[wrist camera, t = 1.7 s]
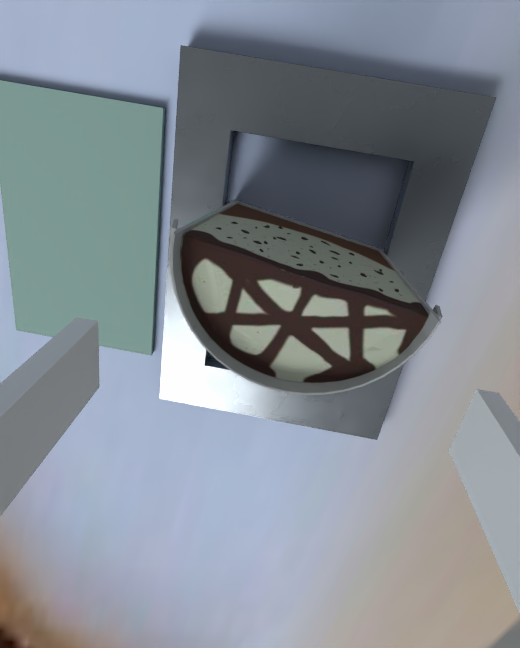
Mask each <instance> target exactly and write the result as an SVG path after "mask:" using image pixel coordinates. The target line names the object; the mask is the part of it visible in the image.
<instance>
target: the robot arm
mask: <svg viewBox="0 0 520 648" xmlns="http://www.w3.org/2000/svg"><path fill="white" fill-rule="evenodd" d="M98 388H99V338H98V321H95V320H89V319H84V318H78V317H76V318H75V319H74V320H73V321H72V322H70V323H69V324H68V325H67V326H66V327H65V328H64V329H62V330H61V331H60V332H59V333H58V334H57V335H56V336H54V337H53V338H52V339H51V340H50V341H49V342H48V343H46V344H45V345H44V346H43V347H42V348H41V349H39V350H38V351H37V352H36V353H35V354H34V355H33V356H31V357H30V358H29V359H28V360H27V361H26V362H25V363H23V364H22V365H21V366H20V367H19V368H18V369H17V370H15V371H14V372H13V373H12V374H11V375H10V376H8V377H7V378H6V379H5V380H4V381H3V382H2V383H0V516H1V515H2V514H3V512H4V511H5V510H6V508H7V507H8V506H9V504H10V503H11V502H12V500H13V499H14V498H15V497H16V495H17V494H18V493H19V491H20V490H21V489H22V487H23V486H24V485H25V483H26V482H27V481H28V480H29V478H30V477H31V476H32V474H33V473H34V472H35V470H36V469H37V468H38V466H39V465H40V464H41V463H42V461H43V460H44V459H45V457H46V456H47V455H48V453H49V452H50V451H51V449H52V448H53V447H54V446H55V444H56V443H57V442H58V440H59V439H60V438H61V436H62V435H63V434H64V432H65V431H66V430H67V429H68V427H69V426H70V425H71V423H72V422H73V421H74V419H75V418H76V417H77V415H78V414H79V413H80V412H81V410H82V409H83V408H84V406H85V405H86V404H87V402H88V401H89V400H90V398H91V397H92V396H93V395H94V393H95V392H96V391H97V389H98ZM449 452H450V455H451V457H452V459H453V462H454V464H455V466H456V468H457V471H458V473H459V475H460V478H461V480H462V482H463V485H464V487H465V489H466V491H467V494H468V496H469V498H470V501H471V503H472V505H473V508H474V510H475V512H476V515H477V517H478V519H479V521H480V524H481V526H482V528H483V531H484V533H485V535H486V538H487V540H488V542H489V544H490V547H491V549H492V551H493V554H494V556H495V558H496V561H497V563H498V565H499V567H500V570H501V572H502V574H503V577H504V579H505V581H506V584H507V586H508V588H509V591H510V593H511V595H512V597H513V600H514V602H515V604H516V607H517V609H518V611H519V614H520V422H519V421H518V419H517V418H516V416H515V415H514V413H513V412H512V411H511V409H510V408H509V406H508V405H507V404H506V402H505V401H504V399H503V398H502V397H501V395H500V394H499V393H496V392H491V391H485V390H480V389H476V391H475V393H474V396H473V398H472V400H471V402H470V404H469V407H468V409H467V411H466V413H465V416H464V418H463V420H462V422H461V424H460V427H459V429H458V431H457V433H456V435H455V438H454V440H453V442H452V444H451V446H450V449H449Z"/></svg>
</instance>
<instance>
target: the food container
mask: <svg viewBox="0 0 520 648" xmlns="http://www.w3.org/2000/svg"><path fill="white" fill-rule="evenodd" d="M177 226H178V219H174V222H173V225H172V228H171V236H170V244H169V268H170V274H171V280H172V285H173V290H174V293H175V296H176V299H177V301H178V304H179V307H180V309H181V312H182V314H183V316H184V318H185V320H186V322H187V324H188V326H189V327H190V329H191V331H192V332H193V334H194V335H195V336H196V338H197V339H198V340H199V342H200V343H201V344H202V346H203V347H204V348H205V349H206V350H207V351H208V352H209V353H210V354H211V355H212V356H213V357H214V358H215V359H216V360H217V361H219V362H220V363H221V364H223V365H224V366H225V367H227V368H228V369H229V370H231V371H232V372H234V373H235V374H237V375H239V376H241V377H243V378H244V379H246V380H248V381H250V382H253V383H255V384H258V385H260V386H263V387H265V388H269V389H273V390H277V391H281V392H285V393H293V394H302V395H325V394H331V393H338V392H345V391H348V390H351V389H355V388H358V387H362V386H365V385H367V384H369V383H371V382H374V381H376V380H378V379H380V378H383V377H384V376H386V375H387V374H389V373H391V372H392V371H394V370H396V369H397V368H399V367H400V366H401V365H403V364H404V363H405V362H406V361H407V360H409V359H410V358H411V357H412V356H413V355H415V354H416V353H417V352H418V351H419V349H420V348H421V347H422V346H423V345H424V344H425V343H426V342H427V341H428V340H429V338H430V337H431V336H432V334H433V333H434V331H435V330H436V328H437V327H438V325H439V324H440V322H441V321H440V320H441V318H442V314H441V310H440V307H439V306H437V305H436V306H435V307H434V309H433V310H432V309H431V308H430V306H429V305H428V304H427V303H426V302H425V300H424V299H423V298H422V297H421V296H420V294H419V293H418V292H417V291H416V290H415V288H414V287H413V286H412V285H411V284H410V282H409V281H408V280H407V279H406V278H405V277H404V275H403V274H402V273H401V272H400V271H399V269H398V268H397V267H396V266H395V265H394V263H393V262H392V261H391V260H390V259H389V257H388V256H387V255H386V254H385V253H384V251H383V250H382V249H381V248H378V247H375V246H372V245H369V244H366V243H363V242H360V241H357V240H354V239H351V238H348V237H345V236H342V235H339V234H336V233H333V232H330V231H327V230H324V229H321V228H318V227H315V226H312V225H309V224H306V223H303V222H300V221H297V220H294V219H291V218H288V217H285V216H282V215H279V214H276V213H273V212H270V211H267V210H264V209H261V208H258V207H255V206H253V205H250V204H247V203H244V202H241V201H238V200H234V201H232V202H230V203H228V204H226V205H225V206H223V207H221V208H219V209H217V210H215V211H213V212H211V213H209V214H207V215H205V216H203V217H201V218H199V219H197V220H195V221H193V222H191V223H189V224H187V225H185V226H183V227H181V228H177Z"/></svg>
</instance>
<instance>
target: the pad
mask: <svg viewBox="0 0 520 648" xmlns="http://www.w3.org/2000/svg"><path fill="white" fill-rule="evenodd" d="M164 125H165V108H161V107H155V106H149V105H144V104H138V103H132V102H126V101H120V100H114V99H108V98H102V97H96V96H91V95H85V94H79V93H73V92H67V91H61V90H55V89H49V88H44V87H38V86H32V85H26V84H20V83H14V82H8V81H2V80H0V185H1V194H2V203H3V213H4V222H5V231H6V240H7V249H8V259H9V268H10V277H11V286H12V295H13V305H14V314H15V323H16V330H18V331H24V332H29V333H34V334H40V335H45V336H50V337H54V336H56V335H57V334H58V333H59V332H60V331H61V330H62V329H64V328H65V327H66V326H67V325H68V324H69V323H70V322H72V321H73V320H74V319H75V318H76V317H78V318H84V319H89V320H95V321H98V338H99V346H104V347H109V348H115V349H120V350H125V351H131V352H136V353H141V354H147V355H152V354H153V347H154V327H155V307H156V287H157V266H158V246H159V226H160V206H161V186H162V165H163V145H164Z"/></svg>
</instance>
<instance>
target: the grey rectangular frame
mask: <svg viewBox="0 0 520 648" xmlns="http://www.w3.org/2000/svg"><path fill="white" fill-rule="evenodd" d="M495 100H496V97H490V96H484V95H478V94H472V93H466V92H460V91H454V90H448V89H442V88H436V87H430V86H424V85H418V84H412V83H406V82H400V81H394V80H388V79H382V78H376V77H370V76H364V75H358V74H351V73H345V72H339V71H333V70H327V69H321V68H315V67H309V66H303V65H297V64H291V63H285V62H279V61H273V60H267V59H261V58H255V57H249V56H243V55H237V54H231V53H225V52H219V51H213V50H207V49H200V48H194V47H188V46H182V45H181V49H180V66H179V82H178V99H177V115H176V132H175V149H174V165H173V182H172V199H171V215H170V232H169V244H170V236H171V228H172V225H173V222H174V219H178V226H177V228H181V227H183V226H185V225H187V224H189V223H191V222H193V221H195V220H197V219H199V218H201V217H203V216H205V215H207V214H209V213H211V212H213V211H215V210H217V209H219V208H221V207H223V206H225V204H226V196H227V187H228V178H229V169H230V161H231V152H232V143H233V134H234V131H239V132H245V133H250V134H256V135H262V136H268V137H274V138H280V139H286V140H291V141H297V142H303V143H309V144H315V145H321V146H327V147H332V148H338V149H344V150H350V151H356V152H362V153H368V154H373V155H379V156H385V157H391V158H397V159H403V160H409V165H408V168H407V172H406V175H405V178H404V182H403V185H402V189H401V192H400V196H399V199H398V203H397V206H396V210H395V213H394V217H393V220H392V224H391V227H390V231H389V234H388V238H387V241H386V245H385V248H384V253H385V254H386V255H387V256H388V257H389V259H390V260H391V261H392V262H393V263H394V265H395V266H396V267H397V268H398V269H399V271H400V272H401V273H402V274H403V275H404V277H405V278H406V279H407V280H408V281H409V282H410V284H411V285H412V286H413V287H414V288H415V290H416V291H417V292H418V293H419V294H420V296H421V297H422V298H423V299H424V300H425V301H426V298H427V295H428V292H429V289H430V287H431V284H432V281H433V278H434V275H435V272H436V269H437V266H438V264H439V261H440V258H441V255H442V252H443V249H444V246H445V244H446V241H447V238H448V235H449V232H450V229H451V226H452V223H453V221H454V218H455V215H456V212H457V209H458V206H459V203H460V200H461V198H462V195H463V192H464V189H465V186H466V183H467V180H468V177H469V175H470V172H471V169H472V166H473V163H474V160H475V157H476V155H477V152H478V149H479V146H480V143H481V140H482V137H483V134H484V132H485V129H486V126H487V123H488V120H489V117H490V114H491V111H492V109H493V106H494V103H495ZM208 353H209V352H208V351H207V350H206V349H205V348H204V347H203V346H202V344H201V343H200V342H199V340H198V339H197V338H196V336H195V335H194V334H193V332H192V331H191V329H190V327H189V326H188V324H187V322H186V320H185V318H184V316H183V314H182V312H181V309H180V307H179V304H178V301H177V299H176V296H175V293H174V290H173V285H172V280H171V274H170V268H169V249H168V265H167V282H166V298H165V315H164V332H163V348H162V365H161V382H160V398H159V399H165V400H170V401H175V402H181V403H186V404H191V405H196V406H202V407H207V408H212V409H217V410H223V411H228V412H233V413H238V414H244V415H249V416H254V417H260V418H265V419H270V420H275V421H281V422H286V423H291V424H296V425H302V426H307V427H312V428H318V429H323V430H328V431H333V432H339V433H344V434H349V435H354V436H360V437H365V438H370V439H376V440H377V439H378V436H379V433H380V430H381V427H382V424H383V421H384V419H385V416H386V413H387V410H388V407H389V404H390V401H391V399H392V396H393V393H394V390H395V387H396V384H397V381H398V378H399V376H400V373H401V370H402V367H403V365H401V366H400V367H399V368H397V369H396V370H394V371H392V372H391V373H389V374H387V375H386V376H384V377H383V378H380V379H378V380H376V381H374V382H371V383H369V384H367V385H365V386H362V387H358V388H355V389H351V390H348V391H345V392H338V393H331V394H325V395H302V394H293V393H285V392H281V391H277V390H273V389H269V388H265V387H263V386H260V385H258V384H255V383H253V382H250V381H248V380H246V379H244V378H243V377H241V376H239V375H237V374H235V373H234V372H232V371H231V370H229V369H228V368H227V367H225V366H224V365H223V364H221V363H220V362H219V361H217V360H216V359H215V358H211V357H208Z"/></svg>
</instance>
